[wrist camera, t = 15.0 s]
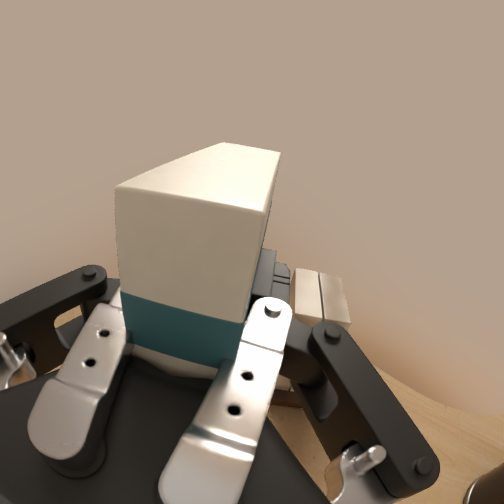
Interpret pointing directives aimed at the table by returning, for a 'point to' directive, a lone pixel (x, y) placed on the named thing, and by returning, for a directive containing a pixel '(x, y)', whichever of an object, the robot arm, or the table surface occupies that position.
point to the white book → (193, 254)
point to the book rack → (312, 315)
